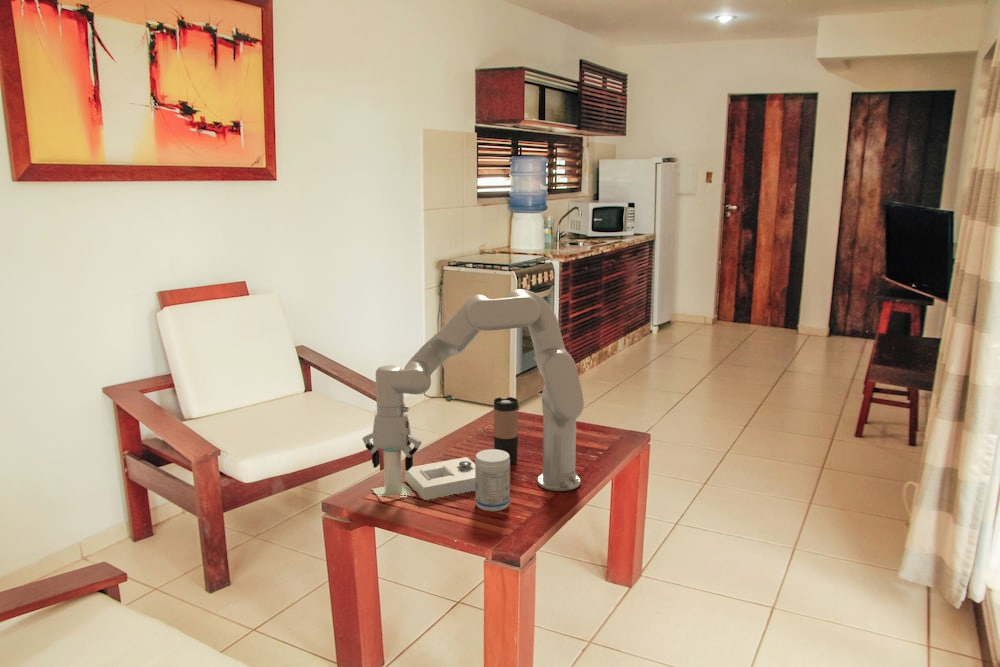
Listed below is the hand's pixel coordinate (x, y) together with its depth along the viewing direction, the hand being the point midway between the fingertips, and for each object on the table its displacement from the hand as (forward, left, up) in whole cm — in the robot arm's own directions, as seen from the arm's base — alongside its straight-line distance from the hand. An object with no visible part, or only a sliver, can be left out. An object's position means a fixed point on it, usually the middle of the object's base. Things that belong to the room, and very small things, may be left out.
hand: (392, 467), depth 216 cm
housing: (-1, -16, -8) cm, 18 cm away
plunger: (-1, -22, -7) cm, 23 cm away
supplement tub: (-20, -22, -8) cm, 31 cm away
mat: (0, 0, -8) cm, 8 cm away
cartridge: (0, 0, -7) cm, 7 cm away
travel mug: (+8, -40, -8) cm, 42 cm away
